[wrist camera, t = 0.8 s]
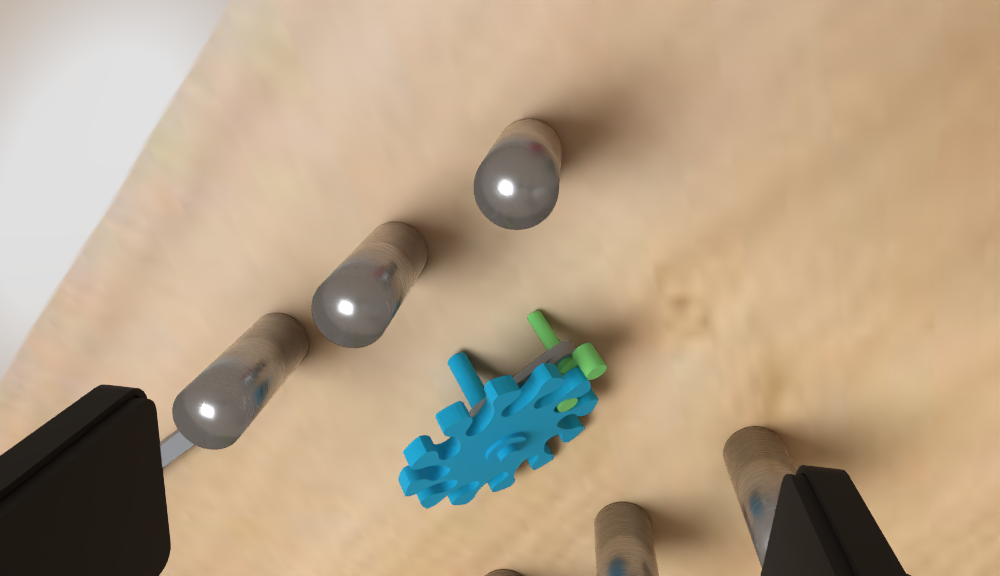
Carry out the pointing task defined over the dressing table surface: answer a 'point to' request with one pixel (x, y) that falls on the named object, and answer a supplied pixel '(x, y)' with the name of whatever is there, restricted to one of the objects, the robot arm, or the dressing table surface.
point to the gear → (503, 421)
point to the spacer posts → (373, 303)
